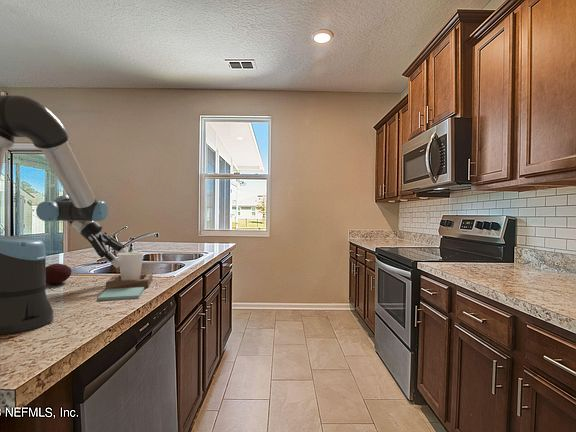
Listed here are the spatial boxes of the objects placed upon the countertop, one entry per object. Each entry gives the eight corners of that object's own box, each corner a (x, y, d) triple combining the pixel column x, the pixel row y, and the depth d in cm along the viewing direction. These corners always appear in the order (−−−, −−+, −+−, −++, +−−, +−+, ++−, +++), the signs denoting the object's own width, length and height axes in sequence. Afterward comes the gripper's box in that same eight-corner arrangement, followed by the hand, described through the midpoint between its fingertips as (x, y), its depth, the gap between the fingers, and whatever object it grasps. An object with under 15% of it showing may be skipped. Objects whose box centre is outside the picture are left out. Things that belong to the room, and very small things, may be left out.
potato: (48, 281, 140) (48, 261, 140) (77, 280, 142) (77, 261, 142) (33, 287, 129) (33, 266, 129) (65, 286, 131) (65, 265, 131)
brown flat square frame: (148, 287, 129) (148, 280, 129) (105, 289, 125) (105, 282, 125) (152, 280, 144) (152, 273, 144) (114, 281, 139) (114, 274, 139)
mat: (138, 298, 114) (138, 295, 114) (97, 300, 110) (97, 297, 110) (144, 289, 126) (144, 286, 126) (106, 291, 122) (106, 289, 122)
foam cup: (142, 286, 132) (142, 254, 132) (116, 288, 128) (116, 255, 128) (143, 281, 141) (143, 251, 140) (119, 283, 137) (119, 252, 137)
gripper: (95, 231, 145) (130, 264, 147) (63, 235, 121) (106, 275, 123) (107, 219, 146) (142, 252, 148) (78, 221, 121) (120, 261, 123)
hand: (126, 263), depth 135 cm, fingers open, 13 cm apart
